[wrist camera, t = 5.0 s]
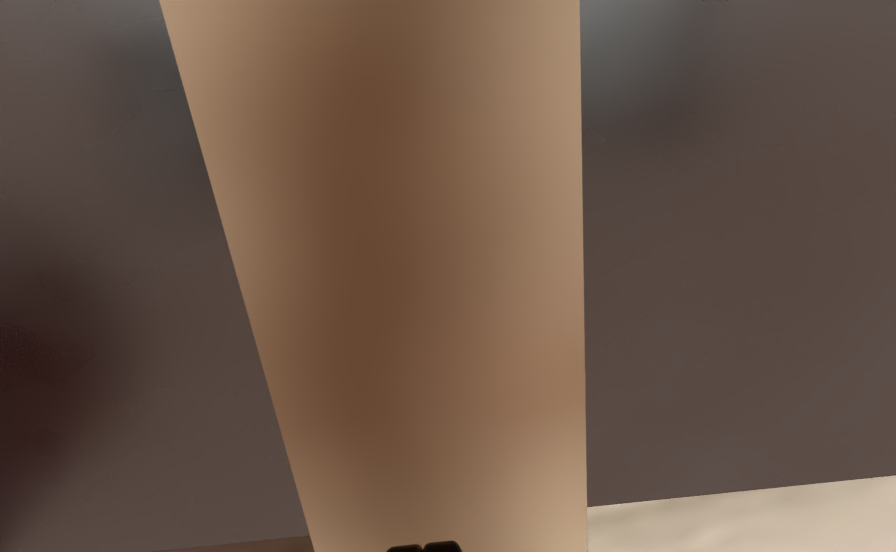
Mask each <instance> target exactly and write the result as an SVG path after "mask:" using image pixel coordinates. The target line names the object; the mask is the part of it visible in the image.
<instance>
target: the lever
mask: <svg viewBox="0 0 896 552" xmlns="http://www.w3.org/2000/svg"><path fill="white" fill-rule="evenodd" d="M159 2H160V5H161V9H162V12H163V16H164V19H165V23H166V26H167V30H168V33H169V37H170V41H171V44H172V48H173V51H174V55H175V58H176V62H177V65H178V69H179V72H180V76H181V80H182V83H183V87H184V90H185V94H186V97H187V101H188V104H189V108H190V111H191V115H192V119H193V122H194V126H195V129H196V133H197V136H198V140H199V143H200V147H201V150H202V154H203V158H204V161H205V165H206V168H207V172H208V175H209V179H210V182H211V186H212V189H213V193H214V197H215V200H216V204H217V207H218V211H219V214H220V218H221V221H222V225H223V228H224V232H225V235H226V239H227V243H228V246H229V250H230V253H231V257H232V260H233V264H234V267H235V271H236V274H237V278H238V282H239V285H240V289H241V292H242V296H243V299H244V303H245V306H246V310H247V313H248V317H249V321H250V324H251V328H252V331H253V335H254V338H255V342H256V345H257V349H258V352H259V356H260V360H261V363H262V367H263V370H264V374H265V377H266V381H267V384H268V388H269V391H270V395H271V399H272V402H273V406H274V409H275V413H276V416H277V420H278V423H279V427H280V430H281V434H282V437H283V441H284V445H285V448H286V452H287V455H288V459H289V462H290V466H291V469H292V473H293V476H294V480H295V484H296V487H297V491H298V494H299V498H300V501H301V505H302V508H303V512H304V515H305V519H306V523H307V526H308V530H309V533H310V537H311V540H312V544H313V547H314V551H315V552H387V550H388V549H389V548H391V547H393V546H402V545H412V544H419V545H421V546H422V548H424V546H425V545H426V544H427V543H431V542H441V541H450V540H453V541H456V542H457V543H458V544H459V546H460V547H461V549H462V551H463V552H588V539H587V471H586V403H585V335H584V266H583V198H582V130H581V61H580V0H159Z"/></svg>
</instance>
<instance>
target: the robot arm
mask: <svg viewBox="0 0 896 552" xmlns="http://www.w3.org/2000/svg"><path fill="white" fill-rule="evenodd" d="M387 552H463V551H462V549H461V547H460V546H459V544H458V543H457V542H456V541H453V540H450V541H441V542H431V543H427V544H426V545H425V546H424V548H422V546H421V545H419V544H412V545H402V546H393V547H391V548H389V549H388V550H387Z"/></svg>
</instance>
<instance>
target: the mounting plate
mask: <svg viewBox="0 0 896 552" xmlns="http://www.w3.org/2000/svg"><path fill="white" fill-rule="evenodd" d="M580 61H581V130H582V198H583V266H584V335H585V403H586V471H587V507H592V506H602V505H612V504H622V503H631V502H641V501H651V500H660V499H670V498H680V497H689V496H699V495H709V494H719V493H728V492H738V491H748V490H757V489H767V488H777V487H786V486H796V485H806V484H816V483H825V482H835V481H845V480H854V479H864V478H874V477H883V476H893V475H896V0H580ZM301 536H310V533H309V530H308V526H307V523H306V519H305V515H304V512H303V508H302V505H301V501H300V498H299V494H298V491H297V487H296V484H295V480H294V476H293V473H292V469H291V466H290V462H289V459H288V455H287V452H286V448H285V445H284V441H283V437H282V434H281V430H280V427H279V423H278V420H277V416H276V413H275V409H274V406H273V402H272V399H271V395H270V391H269V388H268V384H267V381H266V377H265V374H264V370H263V367H262V363H261V360H260V356H259V352H258V349H257V345H256V342H255V338H254V335H253V331H252V328H251V324H250V321H249V317H248V313H247V310H246V306H245V303H244V299H243V296H242V292H241V289H240V285H239V282H238V278H237V274H236V271H235V267H234V264H233V260H232V257H231V253H230V250H229V246H228V243H227V239H226V235H225V232H224V228H223V225H222V221H221V218H220V214H219V211H218V207H217V204H216V200H215V197H214V193H213V189H212V186H211V182H210V179H209V175H208V172H207V168H206V165H205V161H204V158H203V154H202V150H201V147H200V143H199V140H198V136H197V133H196V129H195V126H194V122H193V119H192V115H191V111H190V108H189V104H188V101H187V97H186V94H185V90H184V87H183V83H182V80H181V76H180V72H179V69H178V65H177V62H176V58H175V55H174V51H173V48H172V44H171V41H170V37H169V33H168V30H167V26H166V23H165V19H164V16H163V12H162V9H161V5H160V2H159V0H0V552H156V551H166V550H175V549H185V548H195V547H204V546H214V545H224V544H234V543H243V542H253V541H263V540H272V539H282V538H292V537H301Z"/></svg>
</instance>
